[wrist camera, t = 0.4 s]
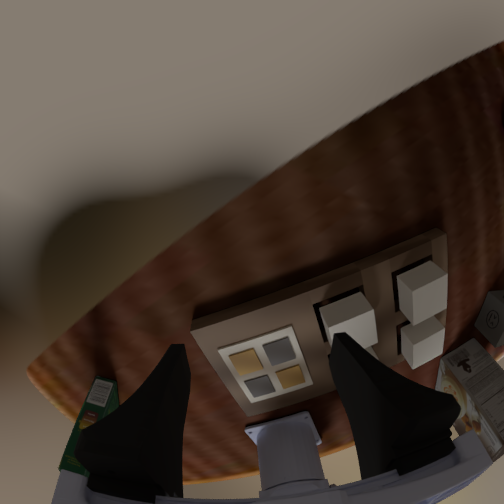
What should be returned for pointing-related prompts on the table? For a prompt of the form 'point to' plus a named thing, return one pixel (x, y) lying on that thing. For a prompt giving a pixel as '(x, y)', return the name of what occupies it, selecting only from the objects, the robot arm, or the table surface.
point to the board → (306, 328)
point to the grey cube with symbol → (492, 318)
